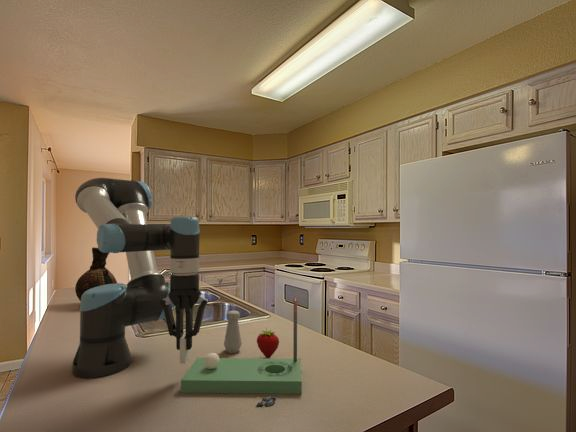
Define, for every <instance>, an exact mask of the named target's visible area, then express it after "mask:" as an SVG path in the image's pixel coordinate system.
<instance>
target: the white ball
mask: <svg viewBox="0 0 576 432" xmlns="http://www.w3.org/2000/svg"><path fill="white" fill-rule="evenodd" d="M204 358H205V360H204V363H205V366H206V367H207V368H209V369H214V368H216V367H217V366H218V364H219V358H220V357H219V355H218V353H215V352H209V353H208V354H207V355H206V356H205V357H204Z"/></svg>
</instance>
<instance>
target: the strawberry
mask: <svg viewBox="0 0 576 432" xmlns="http://www.w3.org/2000/svg"><path fill="white" fill-rule="evenodd" d="M279 343H280V340H279V337H278V336H277V334H276V333H275V331H272V330H271V329H270V330H268V331H267V328H266V331H265V330H262V331H261V333H259V334H258V336H257V337H256V344H257V347H258V349H259V350H260V352H261V353H262V354H263V355H264V357H265V358H272V356H273V355H274V353H275V352H276V351H277V349H278V348H279Z"/></svg>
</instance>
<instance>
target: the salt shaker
mask: <svg viewBox="0 0 576 432" xmlns="http://www.w3.org/2000/svg"><path fill="white" fill-rule="evenodd" d="M240 317H241V313H240V312H239V311H238V310H229V311H228V312H226V319H227V325H226V332H225V337H224V342H223V346H224V348H225V351H226V352H227V353H228V354H236V353H239V351H240V349H241V347H242V344H243V343H242V337H241V331H240V326H239V325H240V324H239V319H240Z"/></svg>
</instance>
